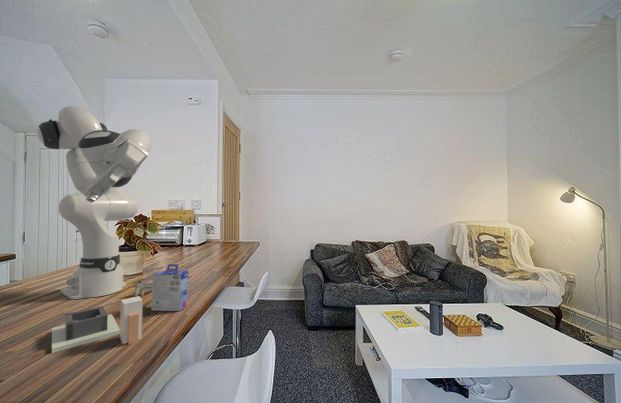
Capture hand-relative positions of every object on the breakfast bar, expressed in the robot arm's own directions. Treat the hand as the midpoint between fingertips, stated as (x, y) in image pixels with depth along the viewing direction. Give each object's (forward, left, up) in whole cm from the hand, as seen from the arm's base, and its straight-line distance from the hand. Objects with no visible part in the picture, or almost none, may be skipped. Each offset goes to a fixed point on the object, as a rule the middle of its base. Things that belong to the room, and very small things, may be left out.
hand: (100, 190), depth 66 cm
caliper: (-20, +34, -39) cm, 56 cm away
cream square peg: (+7, +4, -39) cm, 39 cm away
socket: (-7, +1, -39) cm, 39 cm away
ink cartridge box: (-1, +22, -39) cm, 45 cm away
